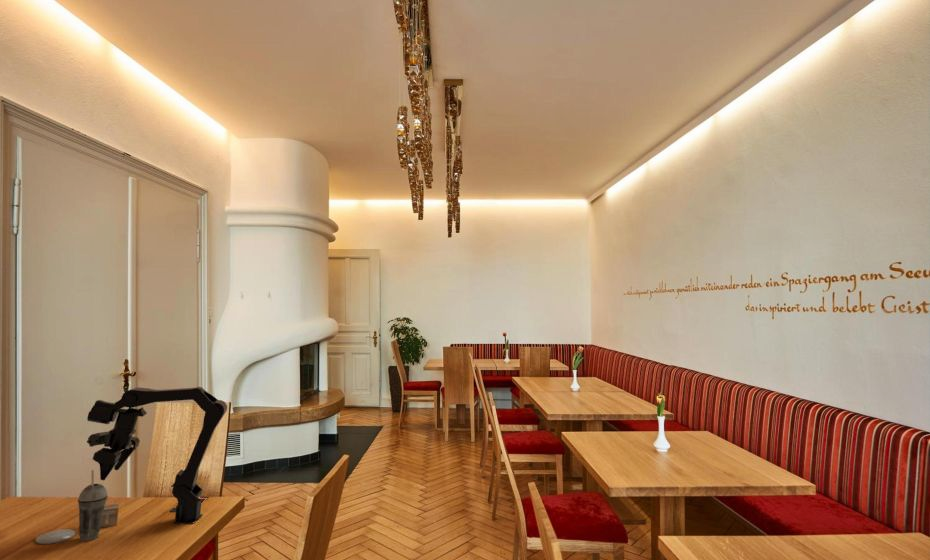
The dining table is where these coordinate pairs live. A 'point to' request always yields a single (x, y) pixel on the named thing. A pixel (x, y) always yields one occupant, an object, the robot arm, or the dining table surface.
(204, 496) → the smartphone
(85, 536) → the beverage cup
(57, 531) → the grey coaster
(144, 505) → the dining table surface
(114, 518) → the letter block
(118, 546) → the dining table surface
